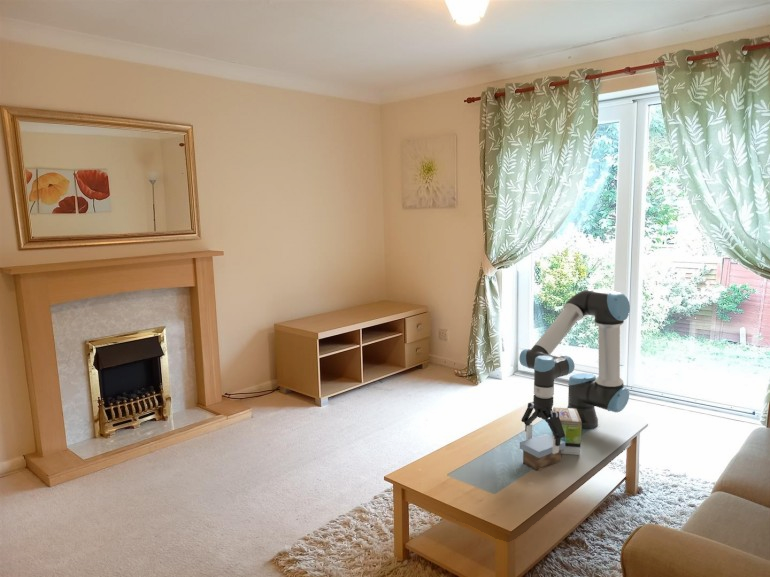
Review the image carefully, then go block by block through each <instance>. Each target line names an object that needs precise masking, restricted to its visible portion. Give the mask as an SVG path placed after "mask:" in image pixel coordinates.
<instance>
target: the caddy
mask: <svg viewBox="0 0 770 577" xmlns="http://www.w3.org/2000/svg"><path fill="white" fill-rule="evenodd" d="M561 461H562V454H561V450H559V452H558V453H555V454H553V453H551V454H548V455H546V456H543V457H540V458H538V457H536V456H534V455H532V454H530V453H528V452H526V451H524V450H522V464H524V465H525V466H527V467H528V468H531V469H532V470H535V471H539V470H542V469H544V468H547V467H549V466H550V467H551V465H554V464H557V463H560V462H561Z"/></svg>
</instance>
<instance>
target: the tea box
mask: <svg viewBox="0 0 770 577" xmlns="http://www.w3.org/2000/svg"><path fill="white" fill-rule="evenodd" d="M552 411H554V412H557V411H558V412H559V418H560V421H561V424H562V427H563V430H564V433H565V437H563V438H560V440H562V441H564V442H565V448H564V449H561V455H575V456H576V455H577V456H580V455H581V445H582V444H581V442H582V429H583V428H582V422H581V419H580V417H579V414H578V412H577V409H572V408H567V407H552ZM551 433H552V432H551ZM551 436H553V437H554V435H553V433H552V434H551Z"/></svg>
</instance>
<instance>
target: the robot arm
mask: <svg viewBox="0 0 770 577" xmlns="http://www.w3.org/2000/svg"><path fill="white" fill-rule="evenodd" d="M630 312H631V305H630V300H629V299H628V297H627V296H626V295H625V294H624V293H622V292H617V291H614V290H613V291H612V290H605V289H604V290H601V289H594V288H588V289H584V290H582V291H579V292H578V293H576V294H575V295H573V296H571V297H570V298H569V299H568V300H567V301H566V302H565V304H563V307H562V311H561V312H560V313H559V315H558V316H557V317H556V318H555V319H554V320H553V322H552V323H551V324H550V326H549V327H548V328H547V329H546V331H544V333H543V334H542V335H541V337H540V338H539V339H538V340H537V341H536V342H535V344H533V346H532V347H531V349H529V348H525V349H523V350H521V352H520V354H519V362H520V364H521V366H523V367H525V368H528V369H531V370H534V371H533V376H534V377H533V378H534V379H533V380H534V381H533V394H534V395H533V401H531V402H528V403H527V408H526V409H525V411H524V413H523V416H522V418H521V422H522V423H524V425H525V426H524V428H525V430H524V432H526V433H525V434H526V435H525V440H528V439H531V438H533V426H534V425H533V424H532V423H533V422H534V421H535V420H536V419H537V418H539V419H542V420H544V422H545V423H547V424H548V427H549V428H550V430H551V433H553V435H554V437H553V448H552V453H553V454H555V453H558V452H559V446H560V438H563V437H565V433H564V430H563V427H562V424H561V421H560V418H559V412H558V411H557V412H554V411H553V406H554V394H555V393H554V392H555V388H554V387H555V385H554V384H555V379H557V378H561V377H564V376H567V375H570V374H571V373H573V372H574V370H575V361H574V360H573V359H572V357H570V356H568V355H560V356H556V355H553V354H552V353H553V352H554V350H555V349H556V348H557V347H558V346H559V345H560V343H561V342H562V341H563V339H564V338H565V337H566V336H567V334H568V333H569V332H570V331H571V329H572V328H574V326H575V324H576V323H577V322H578V321H580V320H582V319H583V318H584V317H586V316H593V317H594V323H595V324H596V325H597V326H598V331H597V332H598V376H597V377H596V375H595V374H593V373H587V372H586V373H574V374H572V375H570V377H569V379H568V384H567V385H568V393H567V394H568V396H567V397H568V398H567V400H568V401H567V402H568V403H567V404H568V405H567V407H566V408H572V409H577V412H578V414H579V417H580V419H581V422H582V428H581V429H587V430H588V429H594V428H596V427H597V426H598V425H599V418H598V416H597V412H596V408H595V407H597V408H600V409H603V410H606V411H608V412H613V413H620V412H622V411H623V410H624V409H625V407H626V406H627V405H628V403H629V400H630V390H629V389H628V388H627V387H624V380H623V379H622V378H621V368H620V366H621V363H620V362H621V357H620V356H621V355H620V354H621V350H620V349H621V348H620V347H621V336H620V335H621V330H620V329H621V326H622V325H623V324H624V322H625V320H626V319H628V318H629V313H630ZM533 411H534V412H533ZM532 412H533V413H532Z"/></svg>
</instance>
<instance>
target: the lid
mask: <svg viewBox="0 0 770 577" xmlns="http://www.w3.org/2000/svg"><path fill="white" fill-rule="evenodd" d="M552 448H553V436H552V434H551V435H550V434H548V433H546V432H545V433H543V434H541V435H540V434H539V435H538V436H533V437H532V438H531V439H528V440H526V439H525V440H522V441H521V442H519V449H521V450H522V451H523V450H524V451H526V452H528V453H530V454H532V455H534V456H536V457H538V458H540V457H543V456H546V455H548V454H551V453H552ZM564 448H565V442H564V441H562V440H560V446H559V450H561V449H564Z"/></svg>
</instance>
